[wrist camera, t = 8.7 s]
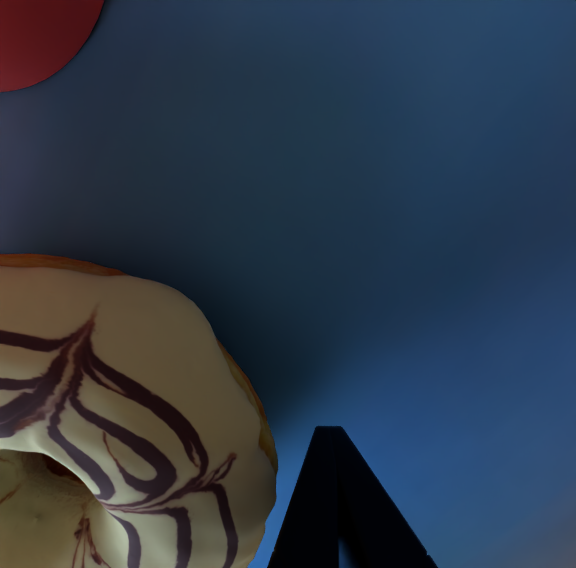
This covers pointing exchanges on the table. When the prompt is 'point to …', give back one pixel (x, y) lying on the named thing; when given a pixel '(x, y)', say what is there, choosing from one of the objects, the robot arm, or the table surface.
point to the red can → (41, 37)
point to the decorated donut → (123, 426)
